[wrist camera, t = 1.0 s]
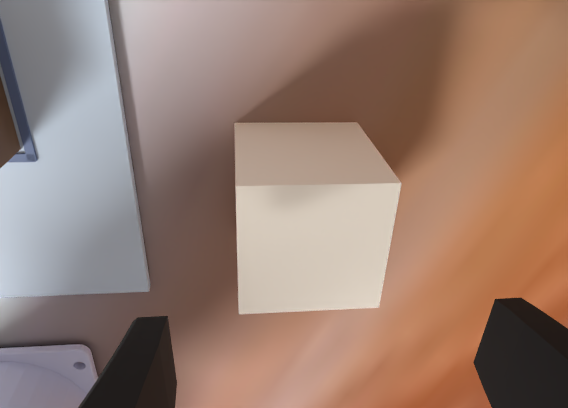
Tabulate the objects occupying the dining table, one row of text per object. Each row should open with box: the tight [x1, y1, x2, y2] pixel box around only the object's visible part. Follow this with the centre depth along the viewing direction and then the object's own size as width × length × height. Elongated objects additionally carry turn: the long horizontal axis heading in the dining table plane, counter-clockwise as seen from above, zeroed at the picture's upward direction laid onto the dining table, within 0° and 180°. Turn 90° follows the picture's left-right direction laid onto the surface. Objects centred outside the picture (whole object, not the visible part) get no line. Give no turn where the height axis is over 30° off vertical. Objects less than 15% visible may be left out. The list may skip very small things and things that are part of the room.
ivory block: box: [234, 122, 401, 314], centre depth 15 cm, size 4×4×5 cm
